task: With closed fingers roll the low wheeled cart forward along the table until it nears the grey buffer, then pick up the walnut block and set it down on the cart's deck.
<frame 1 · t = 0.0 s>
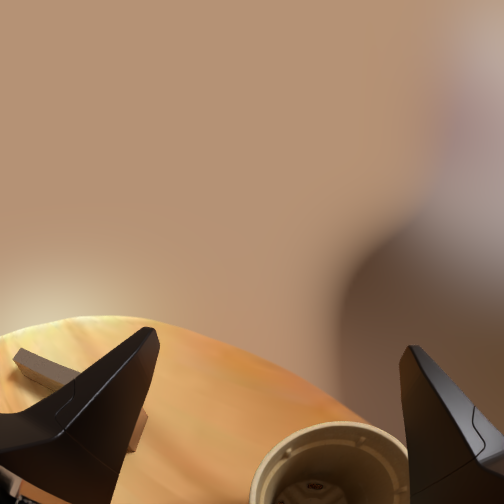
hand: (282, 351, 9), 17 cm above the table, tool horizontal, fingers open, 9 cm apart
block: (122, 428, 20), on the table
buffer: (55, 383, 23), on the table
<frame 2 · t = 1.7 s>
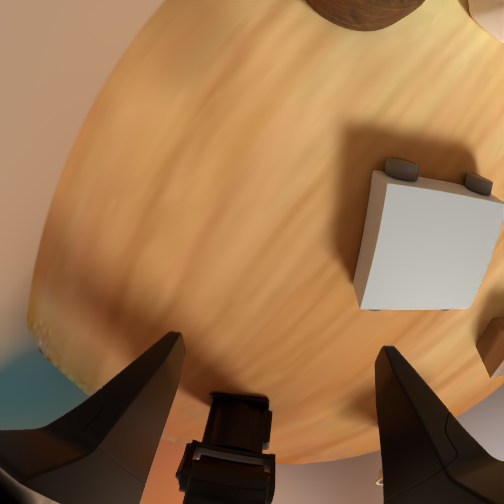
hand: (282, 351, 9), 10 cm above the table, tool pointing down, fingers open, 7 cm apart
block: (495, 331, 20), on the table
eye dropper bottle: (493, 21, 8), on the table
cart: (431, 246, 16), point 2 cm above the table, slide at 0.0 cm
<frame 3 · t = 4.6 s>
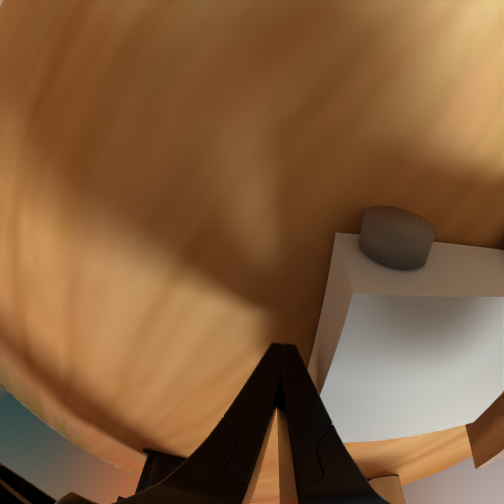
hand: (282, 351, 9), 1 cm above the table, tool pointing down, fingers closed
flower pot: (374, 480, 23), on the table
block: (493, 408, 14), on the table
cart: (433, 358, 8), point 2 cm above the table, slide at 1.2 cm, touching gripper
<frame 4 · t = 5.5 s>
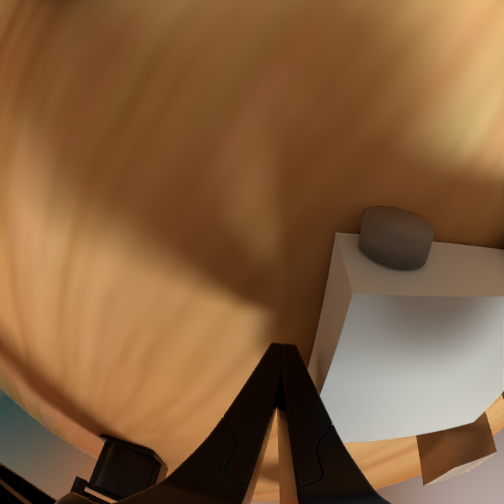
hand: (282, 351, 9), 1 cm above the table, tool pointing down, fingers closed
block: (449, 420, 14), on the table
cart: (433, 358, 8), point 2 cm above the table, slide at 6.4 cm, touching gripper
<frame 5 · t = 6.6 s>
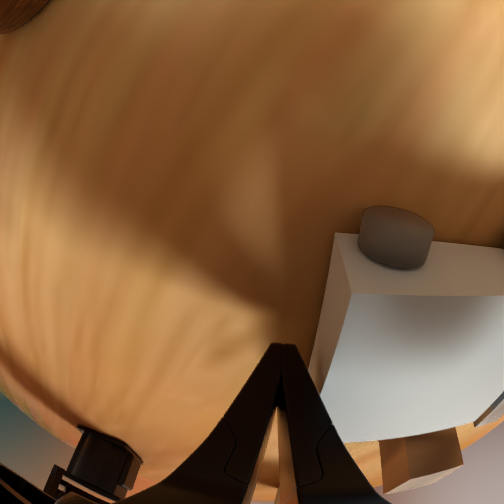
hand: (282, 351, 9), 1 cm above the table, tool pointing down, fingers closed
block: (414, 426, 14), on the table
cart: (433, 357, 8), point 2 cm above the table, slide at 9.7 cm, touching gripper
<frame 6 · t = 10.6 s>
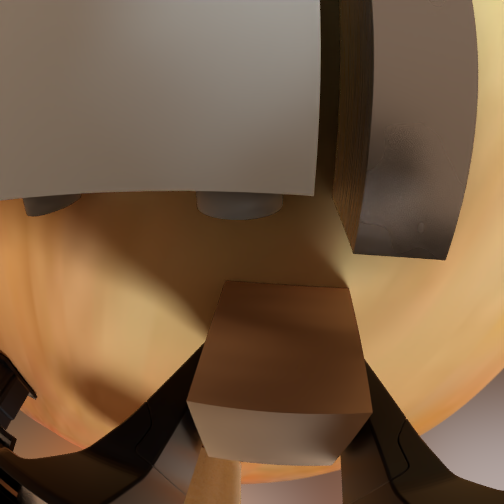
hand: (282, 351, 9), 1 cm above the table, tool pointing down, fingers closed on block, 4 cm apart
flower pot: (206, 454, 19), on the table
block: (283, 329, 10), on the table, touching gripper
buffer: (377, 23, 5), on the table
cart: (107, 17, 4), point 2 cm above the table, slide at 9.7 cm
when the fingers open (5 cm above the table, at t = 13.7 s): block drops 1 cm, resting on cart.
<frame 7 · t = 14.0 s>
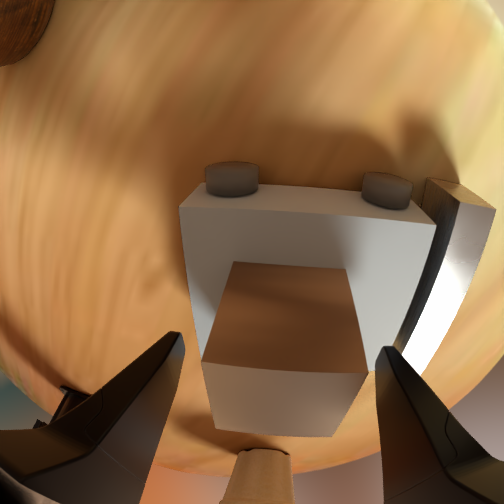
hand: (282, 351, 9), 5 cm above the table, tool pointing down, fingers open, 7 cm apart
flower pot: (265, 454, 27), on the table
block: (285, 308, 11), point 3 cm above the table, touching cart
buffer: (419, 274, 13), on the table
utensil holder: (26, 22, 8), on the table
cart: (302, 286, 12), point 2 cm above the table, slide at 9.7 cm, touching block
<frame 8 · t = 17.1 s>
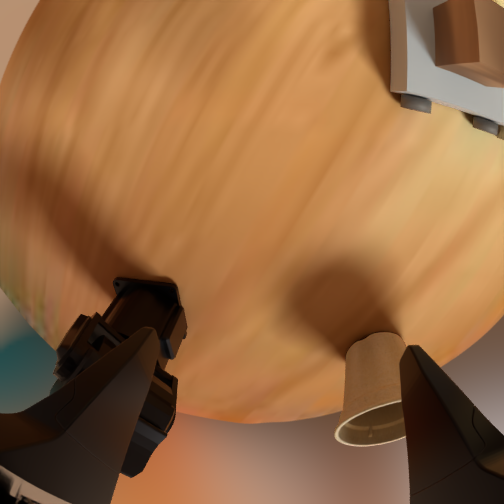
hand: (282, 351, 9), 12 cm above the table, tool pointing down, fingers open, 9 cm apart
flower pot: (374, 350, 26), on the table
block: (462, 46, 9), point 3 cm above the table, touching cart
cart: (458, 52, 10), point 2 cm above the table, slide at 9.7 cm, touching block
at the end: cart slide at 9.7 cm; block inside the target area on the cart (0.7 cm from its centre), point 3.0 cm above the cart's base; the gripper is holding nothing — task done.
